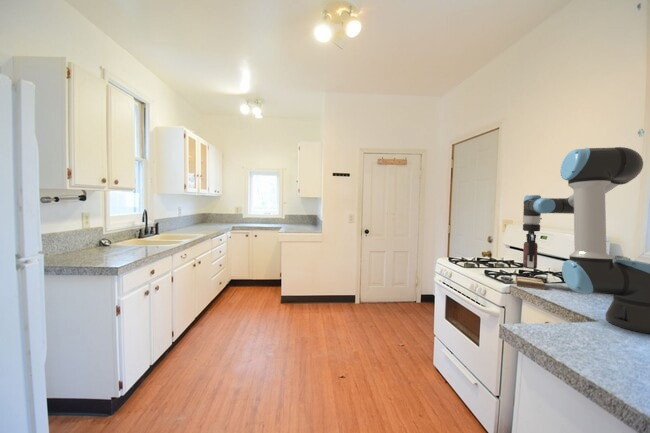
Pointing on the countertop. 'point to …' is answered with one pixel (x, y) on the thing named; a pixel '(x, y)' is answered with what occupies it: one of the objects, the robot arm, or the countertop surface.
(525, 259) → the can
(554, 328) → the countertop surface
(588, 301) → the countertop surface
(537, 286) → the stand
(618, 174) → the robot arm
